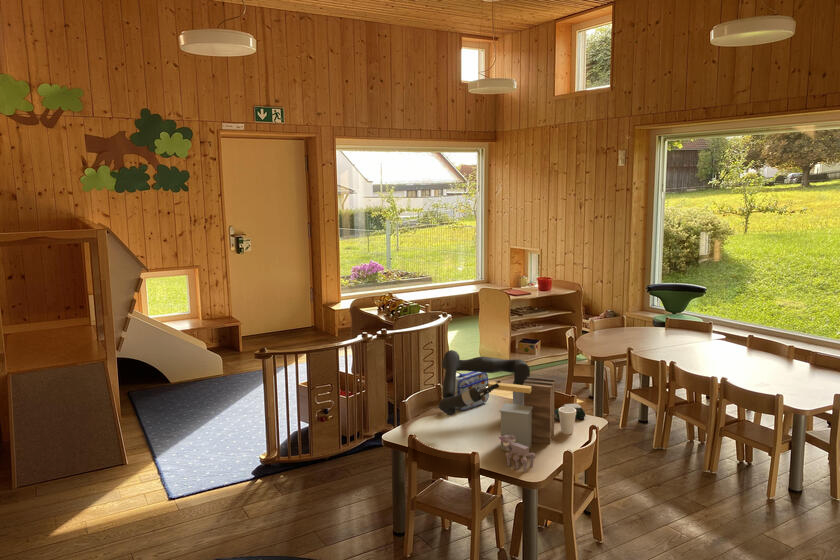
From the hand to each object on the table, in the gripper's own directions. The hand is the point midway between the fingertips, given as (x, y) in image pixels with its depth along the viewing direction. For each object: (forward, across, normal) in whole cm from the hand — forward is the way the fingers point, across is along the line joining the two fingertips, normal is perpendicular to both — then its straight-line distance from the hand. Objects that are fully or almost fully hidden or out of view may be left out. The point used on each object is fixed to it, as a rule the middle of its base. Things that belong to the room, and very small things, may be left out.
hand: (499, 383), depth 338 cm
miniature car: (+8, +49, +44) cm, 66 cm away
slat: (+4, 0, +5) cm, 6 cm away
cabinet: (-1, +15, +39) cm, 41 cm away
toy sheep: (-6, -19, +36) cm, 41 cm away
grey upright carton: (-9, 0, +34) cm, 35 cm away
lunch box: (-45, +48, +14) cm, 67 cm away
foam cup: (+10, +28, +45) cm, 54 cm away
